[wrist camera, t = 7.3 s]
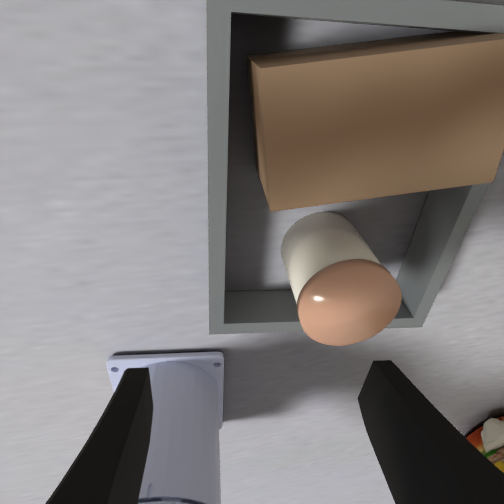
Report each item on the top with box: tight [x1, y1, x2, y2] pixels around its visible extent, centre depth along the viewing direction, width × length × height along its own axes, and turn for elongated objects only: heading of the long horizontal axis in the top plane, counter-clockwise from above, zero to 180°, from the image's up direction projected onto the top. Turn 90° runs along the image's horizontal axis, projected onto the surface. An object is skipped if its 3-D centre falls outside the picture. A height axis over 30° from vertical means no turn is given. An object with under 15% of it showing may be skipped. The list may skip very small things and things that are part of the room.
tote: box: [207, 0, 504, 334], centre depth 17 cm, size 16×13×3 cm
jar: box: [281, 212, 402, 346], centre depth 18 cm, size 5×5×6 cm
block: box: [247, 32, 504, 212], centre depth 14 cm, size 5×9×5 cm, turn 95°
